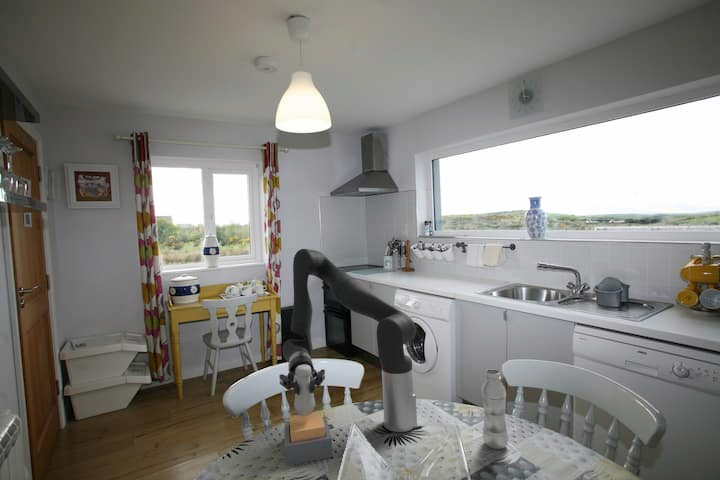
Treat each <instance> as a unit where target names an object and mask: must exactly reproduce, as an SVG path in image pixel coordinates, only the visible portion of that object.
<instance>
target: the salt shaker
mask: <svg viewBox="0 0 720 480" xmlns="http://www.w3.org/2000/svg"><path fill="white" fill-rule="evenodd" d="M310 374H311V367H310V366H309V365H299V366H298V367H297V368H296V376H298V379H297V383H298V384H299V393H300V395H297V393H294V394H295V397H294V403H293V406H294V409H295V411H296V412H297V415H299V416H308V415H310V414H312V413H313V411H314V409H315V407H316V400H315V397H314V392H313V393H310V376H309V375H310Z"/></svg>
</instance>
